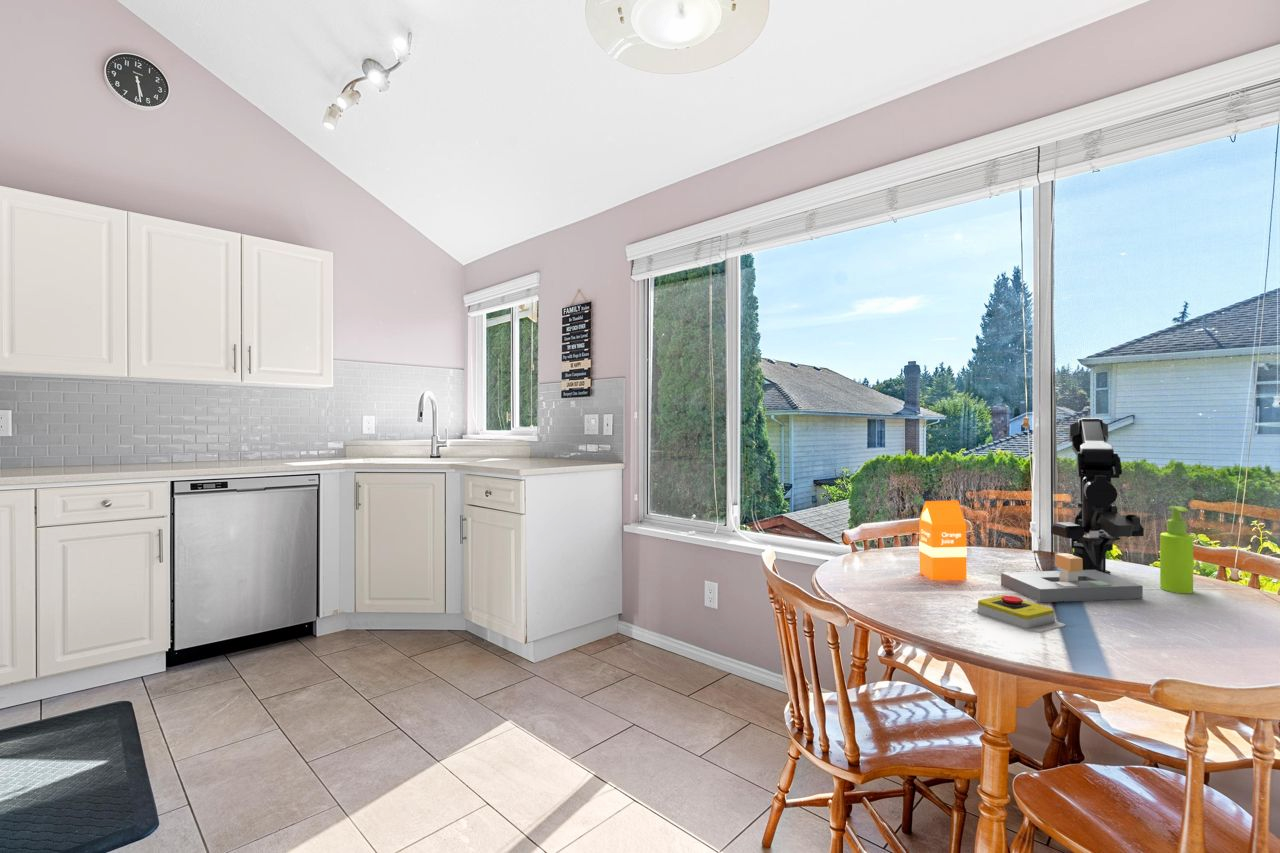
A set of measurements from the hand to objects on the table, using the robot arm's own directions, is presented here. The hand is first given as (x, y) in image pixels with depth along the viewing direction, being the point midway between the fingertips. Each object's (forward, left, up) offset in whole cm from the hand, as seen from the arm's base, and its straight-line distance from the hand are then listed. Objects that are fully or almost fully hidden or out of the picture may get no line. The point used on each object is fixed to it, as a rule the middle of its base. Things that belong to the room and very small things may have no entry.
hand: (1096, 565), depth 145 cm
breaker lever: (+7, 0, -5) cm, 8 cm away
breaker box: (+7, 0, -6) cm, 9 cm away
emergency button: (+31, +16, -7) cm, 35 cm away
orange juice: (+29, -16, -6) cm, 34 cm away
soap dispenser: (-18, +2, -6) cm, 19 cm away
